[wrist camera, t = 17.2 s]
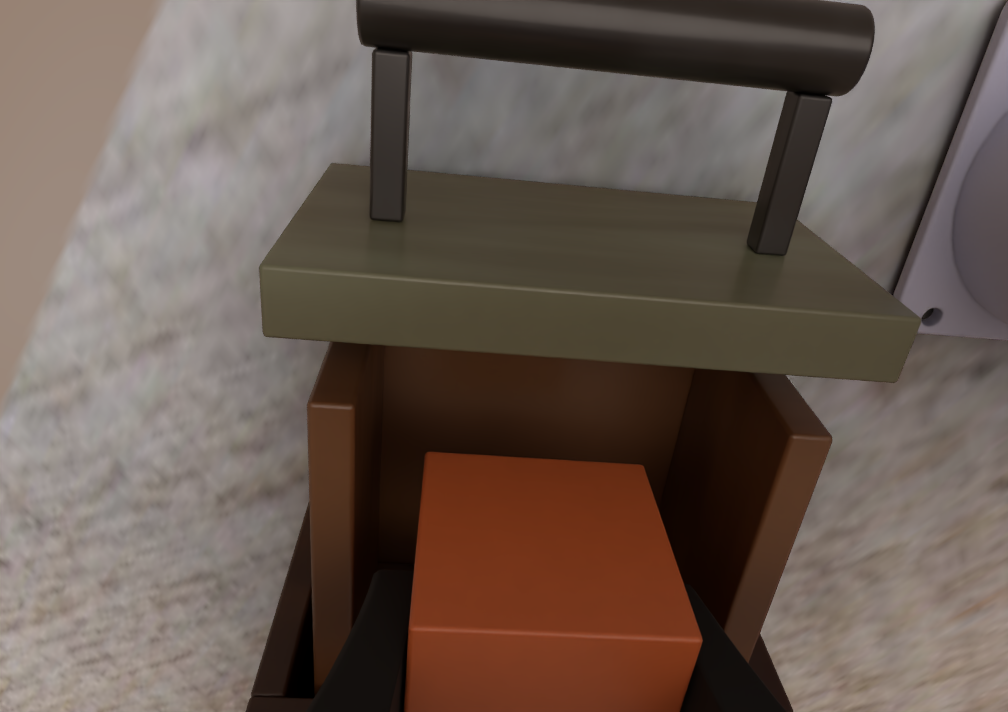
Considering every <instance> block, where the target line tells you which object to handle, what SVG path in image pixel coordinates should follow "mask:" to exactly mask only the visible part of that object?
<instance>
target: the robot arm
mask: <svg viewBox="0 0 1008 712" xmlns="http://www.w3.org/2000/svg"><path fill="white" fill-rule="evenodd" d="M893 296H894V297H895V298H896V299H898V300H899V301H900V302H901V303H903V304H904V305H905V306H906V307H908V308H909V309H910V310H911V311H913V312H914V313H915V314H916V315H918V316H919V317H920V318H921V325H920V327H919V329H918V332H917V333H919V334H932V335H944V336H957V337H970V338H982V339H995V340H1007V341H1008V1H1007V2H1006V4H1005V6H1004V8H1003V9H1002V11H1001V14H1000V16H999V19H998V22H997V24H996V27H995V30H994V32H993V35H992V37H991V40H990V43H989V45H988V48H987V50H986V53H985V56H984V58H983V61H982V64H981V66H980V69H979V71H978V74H977V77H976V79H975V82H974V85H973V87H972V90H971V92H970V95H969V98H968V100H967V103H966V105H965V108H964V111H963V113H962V116H961V119H960V121H959V124H958V126H957V129H956V132H955V134H954V137H953V140H952V142H951V145H950V147H949V150H948V153H947V155H946V158H945V160H944V163H943V166H942V168H941V171H940V174H939V176H938V179H937V181H936V184H935V187H934V189H933V192H932V195H931V197H930V200H929V202H928V205H927V208H926V210H925V213H924V215H923V218H922V221H921V223H920V226H919V229H918V231H917V234H916V236H915V239H914V242H913V244H912V247H911V250H910V252H909V255H908V257H907V260H906V263H905V265H904V268H903V270H902V273H901V276H900V278H899V281H898V284H897V286H896V289H895V291H894V294H893ZM931 308H934V311H933V313H932V314H931V316H930V317H928V318H926V319H923V320H922V316H923V314H924V313H925V312H926V311H927V310H929V309H931ZM413 575H414V571H407V570H386V569H380V570H379V571H377V572H376V573H374V574H373V577H372V581H371V584H370V587H369V590H368V593H367V595H366V598H365V601H364V603H363V605H362V608H361V610H360V612H359V615H358V617H357V619H356V621H355V623H354V625H353V628H352V630H351V632H350V634H349V636H348V638H347V640H346V642H345V644H344V646H343V647H342V649H341V651H340V653H339V655H338V657H337V659H336V661H335V662H334V664H333V666H332V668H331V670H330V672H329V674H328V676H327V677H326V679H325V681H324V683H323V684H322V686H321V688H320V689H319V691H318V692H317V694H316V696H315V697H314V699H313V701H312V702H311V704H310V706H309V707H308V709H307V710H306V712H404V695H405V678H406V662H407V645H408V628H409V617H410V607H411V596H412V586H413ZM684 586H685V589H686V592H687V595H688V598H689V601H690V604H691V607H692V610H693V612H694V615H695V618H696V621H697V624H698V627H699V630H700V633H701V636H702V640H703V641H702V645H701V648H700V651H699V654H698V657H697V660H696V663H695V666H694V669H693V672H692V676H691V679H690V682H689V685H688V688H687V691H686V694H685V697H684V700H683V703H682V706H681V709H680V712H787V711H786V710H785V709H784V708H783V706H782V705H781V704H780V703H779V702H778V700H777V699H776V698H775V697H774V695H773V694H772V693H771V691H770V690H769V689H768V688H767V686H766V685H765V684H764V683H763V681H762V680H761V679H760V678H759V676H758V675H757V674H756V673H755V671H754V670H753V669H752V668H751V666H750V665H749V664H748V662H747V661H746V660H745V658H744V657H743V656H742V654H741V653H740V652H739V650H738V649H737V648H736V646H735V645H734V644H733V642H732V641H731V640H730V638H729V637H728V636H727V634H726V633H725V632H724V630H723V629H722V627H721V626H720V625H719V623H718V622H717V621H716V619H715V618H714V616H713V615H712V614H711V612H710V611H709V610H708V608H707V607H706V605H705V604H704V603H703V601H702V600H701V598H700V597H699V596H698V594H697V593H696V592H695V590H694V589H693V588H692V587H691V585H690V584H684Z"/></svg>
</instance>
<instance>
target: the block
mask: <svg viewBox="0 0 1008 712" xmlns="http://www.w3.org/2000/svg"><path fill="white" fill-rule="evenodd" d="M702 641H703V640H702V636H701V633H700V630H699V627H698V624H697V621H696V618H695V615H694V612H693V610H692V607H691V604H690V601H689V598H688V595H687V592H686V589H685V586H684V583H683V580H682V577H681V574H680V571H679V568H678V566H677V563H676V560H675V557H674V554H673V551H672V548H671V545H670V542H669V539H668V536H667V533H666V530H665V527H664V524H663V522H662V519H661V516H660V513H659V510H658V507H657V504H656V501H655V498H654V495H653V492H652V489H651V486H650V483H649V480H648V478H647V475H646V472H645V469H644V466H643V465H640V464H624V463H608V462H592V461H576V460H559V459H543V458H527V457H510V456H494V455H478V454H462V453H445V452H427V453H426V454H425V459H424V470H423V480H422V491H421V501H420V512H419V522H418V533H417V543H416V554H415V565H414V575H413V586H412V596H411V607H410V617H409V628H408V645H407V662H406V678H405V695H404V712H680V709H681V706H682V703H683V700H684V697H685V694H686V691H687V688H688V685H689V682H690V679H691V676H692V672H693V669H694V666H695V663H696V660H697V657H698V654H699V651H700V648H701V645H702Z"/></svg>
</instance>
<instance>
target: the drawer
mask: <svg viewBox="0 0 1008 712" xmlns="http://www.w3.org/2000/svg"><path fill="white" fill-rule="evenodd" d="M356 12H357V28H358V35H359V39H360V42H361V44H362V45H364V46H366V47H375V49H374V50H373V53H372V91H371V147H370V166H360V165H349V164H338V163H332V164H330V166H329V167H328V168H327V170H326V171H325V173H324V174H323V176H322V177H321V178H320V180H319V181H318V183H317V184H316V186H315V187H314V188H313V190H312V191H311V193H310V194H309V196H308V197H307V198H306V200H305V201H304V203H303V204H302V206H301V207H300V208H299V210H298V211H297V213H296V214H295V216H294V217H293V218H292V220H291V221H290V223H289V224H288V226H287V227H286V228H285V230H284V231H283V233H282V234H281V236H280V237H279V239H278V240H277V241H276V243H275V244H274V246H273V247H272V249H271V250H270V251H269V253H268V254H267V256H266V257H265V259H264V260H263V261H262V263H261V264H260V267H259V276H260V293H261V311H262V329H263V334H264V336H266V337H275V338H289V339H302V340H316V341H330V344H329V347H328V349H327V352H326V355H325V357H324V360H323V363H322V365H321V368H320V371H319V374H318V376H317V379H316V382H315V384H314V387H313V390H312V392H311V395H310V398H309V400H308V403H307V429H308V466H309V504H310V541H311V579H312V617H313V654H314V692H315V696H316V694H317V692H318V691H319V689H320V688H321V686H322V684H323V683H324V681H325V679H326V677H327V676H328V674H329V672H330V670H331V668H332V666H333V664H334V662H335V661H336V659H337V657H338V655H339V653H340V651H341V649H342V647H343V646H344V644H345V642H346V640H347V638H348V636H349V634H350V632H351V630H352V628H353V625H354V623H355V621H356V619H357V617H358V615H359V612H360V610H361V608H362V605H363V603H364V601H365V598H366V595H367V593H368V590H369V587H370V584H371V581H372V577H373V574H374V573H376V572H377V571H379V570H380V569H386V570H407V571H414V565H415V554H416V543H417V533H418V522H419V512H420V501H421V491H422V480H423V470H424V459H425V454H426V453H427V452H445V453H462V454H478V455H494V456H510V457H527V458H543V459H559V460H576V461H592V462H608V463H624V464H640V465H643V466H644V469H645V472H646V475H647V478H648V480H649V483H650V486H651V489H652V492H653V495H654V498H655V501H656V504H657V507H658V510H659V513H660V516H661V519H662V522H663V524H664V527H665V530H666V533H667V536H668V539H669V542H670V545H671V548H672V551H673V554H674V557H675V560H676V563H677V566H678V568H679V571H680V574H681V577H682V580H683V583H684V584H690V585H691V587H692V588H693V589H694V590H695V592H696V593H697V594H698V596H699V597H700V598H701V600H702V601H703V603H704V604H705V605H706V607H707V608H708V610H709V611H710V612H711V614H712V615H713V616H714V618H715V619H716V621H717V622H718V623H719V625H720V626H721V627H722V629H723V630H724V632H725V633H726V634H727V636H728V637H729V638H730V640H731V641H732V642H733V644H734V645H735V646H736V648H737V649H738V650H739V652H740V653H741V654H742V656H743V657H744V658H745V660H746V661H747V662H748V663H749V660H750V658H751V655H752V652H753V650H754V647H755V644H756V642H757V639H758V636H759V634H760V631H761V629H762V626H763V623H764V621H765V618H766V615H767V613H768V610H769V607H770V605H771V602H772V599H773V597H774V594H775V591H776V589H777V586H778V584H779V581H780V578H781V576H782V573H783V570H784V568H785V565H786V562H787V560H788V557H789V554H790V552H791V549H792V546H793V544H794V541H795V539H796V536H797V533H798V531H799V528H800V525H801V523H802V520H803V517H804V515H805V512H806V509H807V507H808V504H809V502H810V499H811V496H812V494H813V491H814V488H815V486H816V483H817V480H818V478H819V475H820V472H821V470H822V467H823V464H824V462H825V459H826V457H827V454H828V451H829V449H830V446H831V443H832V436H831V434H830V433H829V432H828V431H827V429H826V428H825V427H824V425H823V424H822V423H821V421H820V420H819V419H818V417H817V416H816V415H815V413H814V412H813V411H812V409H811V408H810V407H809V405H808V404H807V403H806V402H805V400H804V399H803V398H802V396H801V395H800V394H799V392H798V391H797V390H796V388H795V387H794V386H793V384H792V383H791V382H790V380H789V379H788V378H787V376H786V375H794V376H808V377H821V378H835V379H849V380H862V381H876V382H889V383H895V382H897V380H898V378H899V376H900V373H901V371H902V369H903V366H904V364H905V361H906V359H907V356H908V354H909V351H910V349H911V347H912V344H913V342H914V339H915V337H916V334H917V332H918V329H919V327H920V325H921V318H920V317H919V316H918V315H916V314H915V313H914V312H913V311H911V310H910V309H909V308H908V307H906V306H905V305H904V304H903V303H901V302H900V301H899V300H898V299H896V298H895V297H894V296H892V295H891V294H890V293H889V292H887V291H886V290H885V289H884V288H882V287H881V286H880V285H879V284H877V283H876V282H875V281H874V280H872V279H871V278H870V277H869V276H867V275H866V274H865V273H864V272H862V271H861V270H860V269H858V268H857V267H856V266H855V265H853V264H852V263H851V262H850V261H848V260H847V259H846V258H845V257H843V256H842V255H841V254H840V253H838V252H837V251H836V250H835V249H833V248H832V247H831V246H830V245H828V244H827V243H826V242H825V241H823V240H822V239H821V238H819V237H818V236H817V235H816V234H814V233H813V232H812V231H811V230H809V229H808V228H807V227H806V226H804V225H803V224H802V223H801V222H799V221H798V220H797V217H798V214H799V210H800V207H801V204H802V200H803V197H804V194H805V190H806V187H807V184H808V180H809V177H810V174H811V170H812V167H813V164H814V160H815V157H816V154H817V150H818V147H819V144H820V140H821V137H822V134H823V130H824V127H825V124H826V120H827V117H828V114H829V110H830V107H831V103H832V98H830V97H828V96H842V95H845V94H847V93H848V92H849V91H851V90H852V89H853V88H854V87H855V85H856V84H857V83H858V81H859V80H860V78H861V76H862V75H863V73H864V71H865V69H866V66H867V64H868V61H869V58H870V55H871V52H872V47H873V42H874V33H875V25H874V18H873V15H872V13H871V11H870V10H869V9H868V8H867V7H865V6H863V5H858V4H849V3H841V2H832V1H824V0H356ZM411 51H413V52H422V53H432V54H441V55H451V56H460V57H469V58H479V59H488V60H498V61H507V62H516V63H526V64H535V65H545V66H554V67H564V68H573V69H582V70H592V71H601V72H611V73H620V74H629V75H639V76H648V77H658V78H667V79H677V80H686V81H695V82H705V83H714V84H724V85H733V86H742V87H752V88H761V89H771V90H780V91H787V93H786V97H785V101H784V104H783V108H782V112H781V115H780V119H779V123H778V127H777V130H776V134H775V138H774V141H773V145H772V149H771V153H770V156H769V160H768V164H767V167H766V171H765V175H764V178H763V182H762V186H761V190H760V193H759V197H758V201H757V202H747V201H737V200H726V199H715V198H704V197H694V196H683V195H672V194H661V193H650V192H640V191H629V190H618V189H607V188H597V187H586V186H575V185H564V184H554V183H543V182H532V181H521V180H511V179H500V178H489V177H478V176H468V175H457V174H446V173H435V172H425V171H414V170H407V169H408V145H409V121H410V97H411V73H412V52H411ZM825 95H827V96H825Z"/></svg>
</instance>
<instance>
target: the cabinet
mask: <svg viewBox="0 0 1008 712" xmlns="http://www.w3.org/2000/svg"><path fill="white" fill-rule="evenodd" d="M748 664H749V665H750V666H751V668H752V669H753V670H754V671H755V673H756V674H757V675H758V676H759V678H760V679H761V680H762V681H763V683H764V684H765V685H766V686H767V688H768V689H769V690H770V691H771V693H772V694H773V695H774V697H775V698H776V699H777V700H778V702H779V703H780V704H781V705H782V706H783V708H784V709H785V710H786V711H787V712H793V709H792V707H791V704H790V702H789V700H788V697H787V695H786V693H785V690H784V688H783V686H782V683H781V681H780V679H779V676H778V674H777V672H776V669H775V667H774V665H773V662H772V660H771V658H770V655H769V653H768V651H767V648H766V646H765V644H764V641H763V639H762V637H761V634H759V636H758V639H757V642H756V644H755V647H754V650H753V652H752V655H751V658H750V660H749V663H748ZM314 697H315V692H314V654H313V617H312V579H311V541H310V504H309V503H308V507H307V510H306V513H305V517H304V520H303V523H302V527H301V530H300V533H299V536H298V540H297V543H296V546H295V550H294V553H293V556H292V560H291V563H290V566H289V570H288V573H287V576H286V580H285V583H284V586H283V589H282V593H281V596H280V599H279V603H278V606H277V609H276V613H275V616H274V619H273V623H272V626H271V629H270V632H269V636H268V639H267V642H266V646H265V649H264V652H263V656H262V659H261V662H260V666H259V669H258V672H257V676H256V679H255V682H254V685H253V689H252V692H251V698H250V700H249V702H248V705H247V709H246V712H306V710H307V709H308V707H309V706H310V704H311V702H312V701H313V699H314Z"/></svg>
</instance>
